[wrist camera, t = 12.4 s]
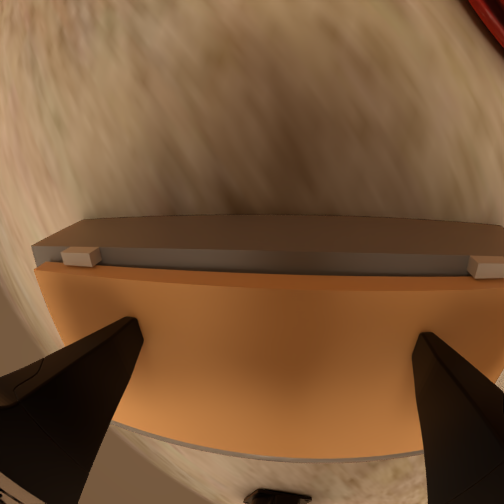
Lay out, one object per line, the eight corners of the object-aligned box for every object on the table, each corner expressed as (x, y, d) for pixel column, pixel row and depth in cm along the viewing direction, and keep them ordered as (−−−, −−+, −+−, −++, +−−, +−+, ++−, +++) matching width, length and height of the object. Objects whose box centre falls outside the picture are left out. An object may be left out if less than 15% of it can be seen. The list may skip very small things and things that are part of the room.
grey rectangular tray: (442, 390, 14) (459, 444, 10) (129, 372, 18) (98, 417, 14) (499, 225, 10) (556, 264, 6) (82, 219, 14) (22, 250, 9)
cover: (440, 438, 11) (443, 452, 10) (118, 415, 14) (112, 426, 13) (529, 274, 6) (543, 287, 6) (47, 260, 10) (32, 270, 9)
